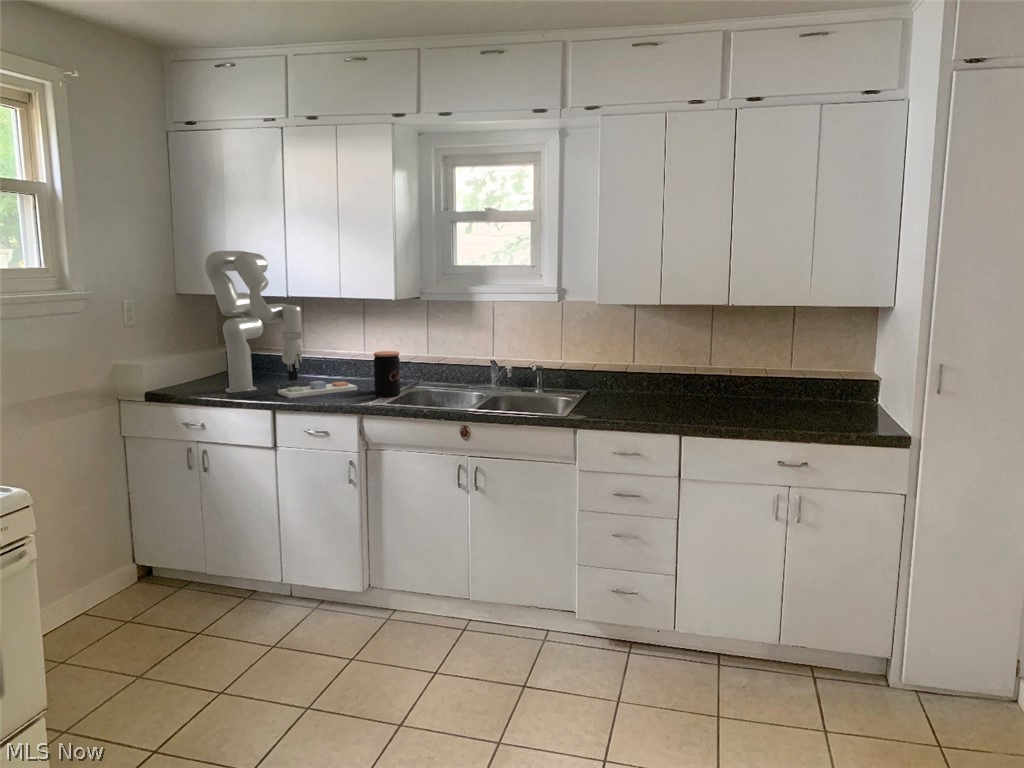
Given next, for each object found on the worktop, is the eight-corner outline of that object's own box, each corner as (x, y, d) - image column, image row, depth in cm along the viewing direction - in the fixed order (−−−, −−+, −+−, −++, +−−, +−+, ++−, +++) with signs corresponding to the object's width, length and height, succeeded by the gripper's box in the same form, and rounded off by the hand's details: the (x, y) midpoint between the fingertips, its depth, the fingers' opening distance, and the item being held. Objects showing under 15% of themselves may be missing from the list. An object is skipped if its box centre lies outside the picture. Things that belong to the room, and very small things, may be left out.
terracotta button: (332, 391, 326) (332, 382, 325) (343, 390, 329) (343, 381, 328) (337, 393, 322) (337, 384, 321) (348, 392, 325) (348, 383, 324)
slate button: (310, 391, 319) (309, 381, 319) (321, 389, 322) (321, 380, 322) (315, 393, 316) (314, 383, 315) (326, 391, 319) (325, 382, 318)
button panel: (278, 396, 315) (277, 389, 314) (345, 388, 333) (344, 382, 332) (289, 401, 306) (288, 394, 305) (357, 393, 324) (357, 386, 323)
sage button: (287, 397, 314) (286, 387, 313) (298, 395, 317) (298, 386, 316) (291, 399, 310) (291, 389, 309) (303, 397, 313) (303, 388, 312)
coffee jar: (393, 398, 312) (391, 354, 309) (370, 396, 316) (368, 353, 313) (404, 393, 322) (403, 351, 319) (382, 392, 326) (381, 350, 322)
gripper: (276, 334, 312) (277, 378, 316) (290, 338, 301) (291, 384, 304) (293, 333, 317) (294, 376, 320) (308, 337, 305) (309, 382, 309)
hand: (293, 380), depth 312 cm, fingers closed
